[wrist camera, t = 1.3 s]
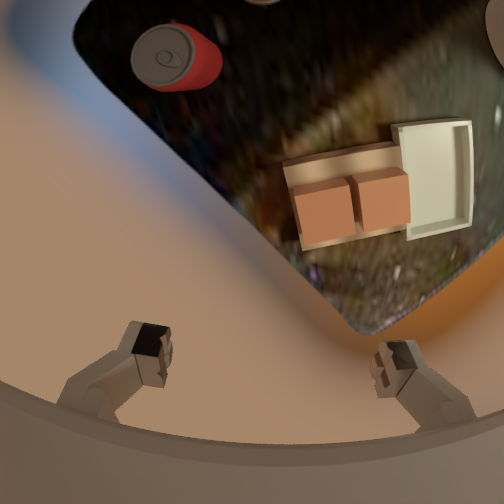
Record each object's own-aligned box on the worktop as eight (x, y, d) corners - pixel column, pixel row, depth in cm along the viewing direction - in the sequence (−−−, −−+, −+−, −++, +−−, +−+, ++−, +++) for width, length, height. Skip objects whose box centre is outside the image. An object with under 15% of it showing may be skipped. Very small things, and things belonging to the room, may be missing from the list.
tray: (461, 117, 30) (471, 120, 28) (463, 218, 37) (471, 225, 35) (390, 124, 32) (397, 127, 30) (400, 232, 39) (406, 240, 37)
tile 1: (343, 176, 33) (349, 185, 31) (350, 222, 36) (356, 234, 33) (292, 187, 34) (294, 196, 32) (302, 232, 37) (305, 245, 35)
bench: (390, 140, 33) (399, 145, 31) (397, 219, 38) (405, 229, 36) (281, 161, 36) (282, 167, 33) (300, 239, 41) (302, 251, 38)
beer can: (203, 99, 32) (173, 106, 22) (158, 74, 31) (111, 74, 20) (234, 54, 29) (217, 38, 19) (187, 29, 28) (150, 7, 17)
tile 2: (398, 166, 32) (408, 174, 29) (401, 212, 35) (410, 222, 32) (351, 175, 33) (358, 183, 30) (357, 221, 36) (364, 232, 33)
